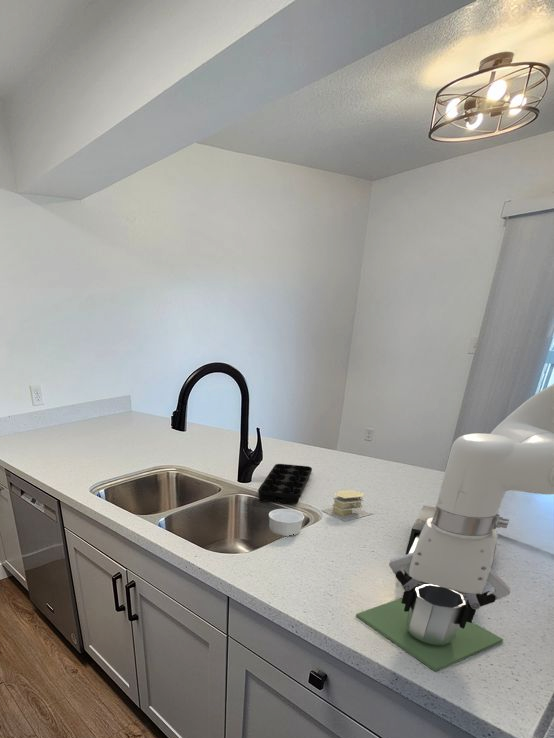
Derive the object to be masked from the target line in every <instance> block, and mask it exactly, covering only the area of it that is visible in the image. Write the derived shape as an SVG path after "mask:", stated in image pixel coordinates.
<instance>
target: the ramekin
mask: <svg viewBox="0 0 554 738" xmlns="http://www.w3.org/2000/svg"><path fill="white" fill-rule="evenodd" d="M268 520H269V521H268V523H269V525H268V527H269V530H270V532H271V533H273V534H275V535H278V536H283V537H290V536H289V535H292V536H296V535H298V534H299V533H300V532H301V530H302V526H303V521H304V520H305V515H304V514H303V513H302V512H300V511H298V510H295V509H290V508H278V509H277V508H276V509H273V510H271V511H269V513H268ZM293 534H294V535H293Z"/></svg>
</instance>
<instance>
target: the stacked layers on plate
mask: <svg viewBox="0 0 554 738" xmlns="http://www.w3.org/2000/svg"><path fill="white" fill-rule="evenodd" d="M334 496H335V497H333V498H332V500H334V502H333V504H332V505H331V506H332V507H329V508H325V509H321V510H320V511H321V512H323V513H325V514H327V515H330V516H332V517H334V518H336V519H339V520H341V521H343V522H349V521H352V520H356V519H359V518H362V517H366V516H371V515H372V514H373V513H372V512H369V511H366V510H364V509H362V508H363V504H362V502H363V501H364V498H363V497H365V494H364V493H363V492H361V491H360V492H359V491H355V490H352V489H342V490H340V491H338V492H335V493H334Z"/></svg>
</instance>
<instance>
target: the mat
mask: <svg viewBox="0 0 554 738" xmlns="http://www.w3.org/2000/svg"><path fill="white" fill-rule="evenodd" d="M402 598H403V596H402V597H400V598H397V599H394V600H391V601H389V602H386V603H383V604H381V605H377V606H375V607H372V608H369V609H366V610H364V611H360V612H358V613H356V614H355V617H356V618H358V619H359V620H360V621H362V622H363V623H365V625H368V626H369V627H370V628H372V629H373V630H374V631H376V632H377V633H379V634H381V635H382V636H383V637H385V638H386V639H388V641H390V642H392V643H393V644H395V645H396V646H397V647H399V648H401V649H402V650H403V651H405V653H408V654H409V655H410V656H411V657H413V658H415V659H416V660H418V661H419V662H420V663H422V664H423V665H425V666H426V667H428V668H429V669H430V670H431V671H433V672H434V673H435V672H438V671H440V670H442V669H445V668H447V667H449V666H451V665H453V664H456V663H458V662H460V661H463V660H465V659H467V658H469V657H471V656H474V655H477V654H478V653H482V652H483V651H485V650H487V649H489V648H492V647H494V646H496V645H499V644H501V643H503V642H504V638H502V637H500V636H499V635H497V634H495V633H493V632H491V631H490V630H488V629H486V628H484V627H482V626H480V625H479V624H477V623H475V622H474V621H472V623H469V622H466V625H465V628H464V629H463V628H460V626H459V628H458V631H457V634H456V637H455V639H454V640H452V641H451V642H449V643H448V644H444V645H434V644H429V643H425V642H423V641H420V640H418V639H417V638H415V637H414V636H412V635H411V634H410V633H409V631H408V629H407V618H408V614H409V612H408V611H407V612H405V611H404V608H405V604H402V603H401V602H402Z"/></svg>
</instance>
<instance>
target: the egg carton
mask: <svg viewBox="0 0 554 738" xmlns="http://www.w3.org/2000/svg"><path fill="white" fill-rule="evenodd" d="M312 472H313V468H312V467H311V466H307V465H297V464H286V463H276V464H274V466H273V467H272V469H271V470H270V471H269V473H268V475H267V476H266V477H265V479H264V481H263V482H262V483H261V485H260V486H259V488H258V490H257V492H258V499H259V500H260V501H263V502H266V503H267V502H269V503H275V502H277V501H278V502H280V503H282V504H285V505H294V504H297V503H299V501H300V498H301V497H302V494H303V492H304V489H305V487H306V485H307V483H308V480H309V478H310V477H311V474H312Z"/></svg>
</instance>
